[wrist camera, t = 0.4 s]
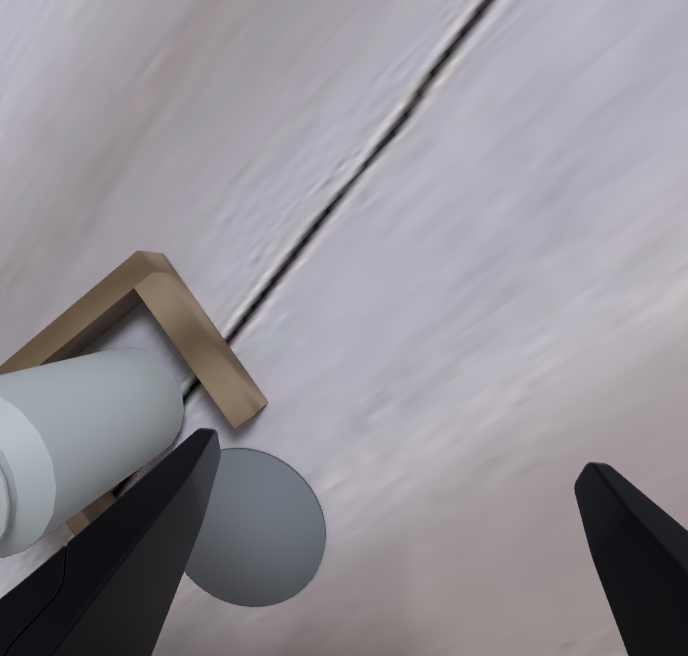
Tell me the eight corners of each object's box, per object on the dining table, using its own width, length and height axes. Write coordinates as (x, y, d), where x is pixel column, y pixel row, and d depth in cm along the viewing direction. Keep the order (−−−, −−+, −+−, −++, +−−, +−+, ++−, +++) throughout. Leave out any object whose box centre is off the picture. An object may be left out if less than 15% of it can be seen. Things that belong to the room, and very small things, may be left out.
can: (127, 471, 27) (-85, 618, 15) (69, 379, 27) (-191, 455, 15) (212, 421, 26) (52, 541, 14) (151, 324, 25) (-63, 360, 14)
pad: (359, 556, 25) (358, 560, 25) (230, 627, 27) (228, 632, 27) (260, 416, 25) (258, 418, 25) (138, 499, 27) (135, 502, 27)
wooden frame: (268, 402, 25) (253, 415, 22) (104, 513, 28) (75, 536, 25) (163, 253, 25) (137, 250, 22) (9, 380, 28) (-29, 390, 25)
